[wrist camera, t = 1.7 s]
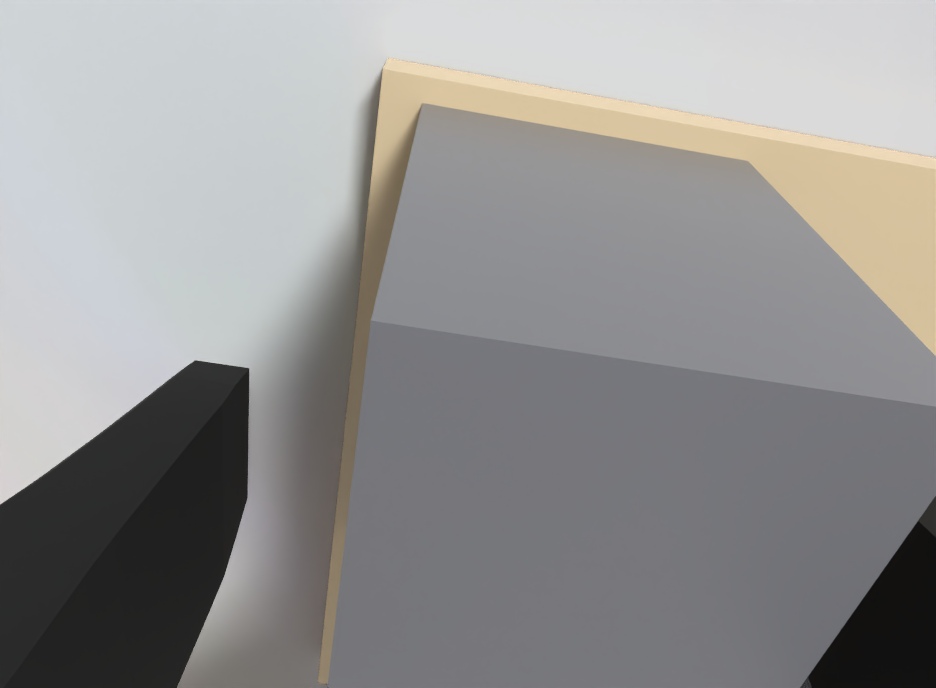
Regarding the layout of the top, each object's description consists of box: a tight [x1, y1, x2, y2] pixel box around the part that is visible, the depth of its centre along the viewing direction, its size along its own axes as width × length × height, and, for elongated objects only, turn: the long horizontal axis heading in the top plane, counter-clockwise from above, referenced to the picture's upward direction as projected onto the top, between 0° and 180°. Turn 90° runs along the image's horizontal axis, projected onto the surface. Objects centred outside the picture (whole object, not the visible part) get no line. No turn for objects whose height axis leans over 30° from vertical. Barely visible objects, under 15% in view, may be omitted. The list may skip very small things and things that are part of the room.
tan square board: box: [318, 58, 936, 684], centre depth 12 cm, size 12×14×1 cm
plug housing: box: [327, 103, 936, 688], centre depth 9 cm, size 7×4×5 cm, turn 170°
